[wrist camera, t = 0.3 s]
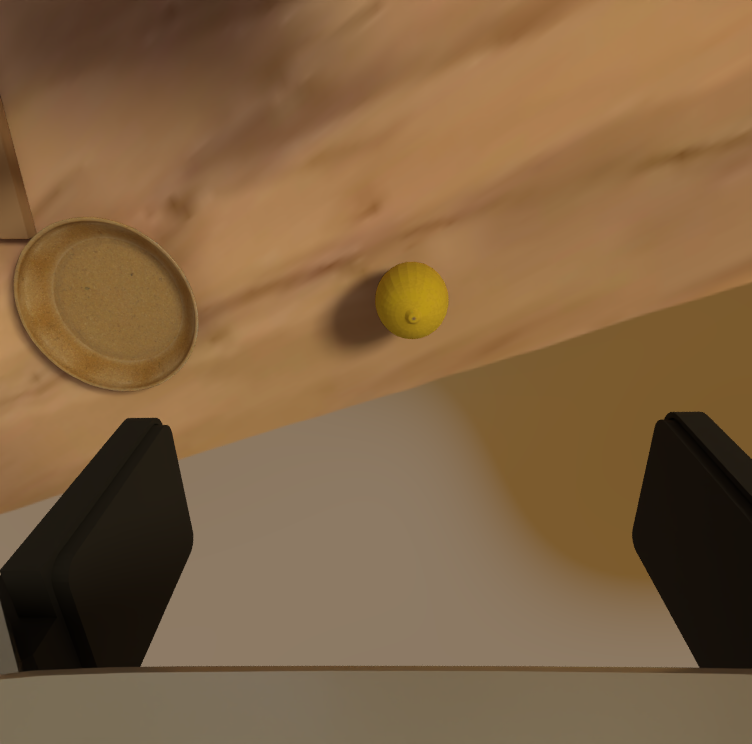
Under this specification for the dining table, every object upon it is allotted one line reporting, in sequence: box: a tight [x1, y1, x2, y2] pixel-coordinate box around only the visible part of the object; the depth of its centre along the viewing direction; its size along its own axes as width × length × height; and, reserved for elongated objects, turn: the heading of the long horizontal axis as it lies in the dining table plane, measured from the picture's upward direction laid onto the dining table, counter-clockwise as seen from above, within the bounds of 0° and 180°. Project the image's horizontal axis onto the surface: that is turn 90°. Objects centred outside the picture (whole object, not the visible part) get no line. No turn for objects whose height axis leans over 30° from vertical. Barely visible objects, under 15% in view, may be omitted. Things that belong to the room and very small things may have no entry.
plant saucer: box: [14, 217, 198, 391], centre depth 47 cm, size 15×15×3 cm
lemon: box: [375, 262, 448, 339], centre depth 43 cm, size 6×6×8 cm
